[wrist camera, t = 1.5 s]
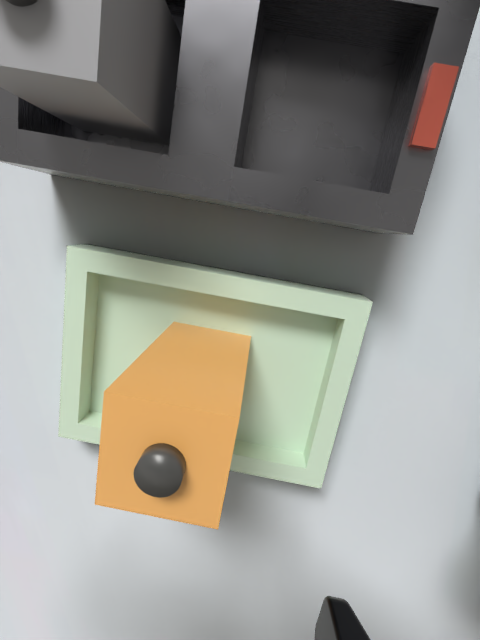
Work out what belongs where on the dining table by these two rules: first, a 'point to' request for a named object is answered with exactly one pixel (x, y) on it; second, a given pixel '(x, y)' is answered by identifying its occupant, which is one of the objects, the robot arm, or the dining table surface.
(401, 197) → the strip
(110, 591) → the dining table surface
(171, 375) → the plug
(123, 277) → the tray
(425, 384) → the dining table surface
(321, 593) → the dining table surface
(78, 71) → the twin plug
